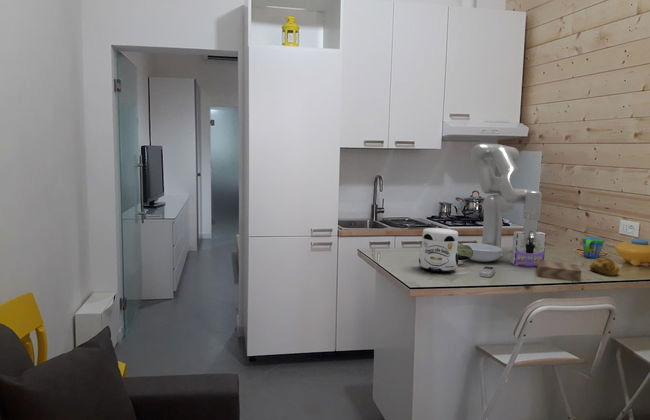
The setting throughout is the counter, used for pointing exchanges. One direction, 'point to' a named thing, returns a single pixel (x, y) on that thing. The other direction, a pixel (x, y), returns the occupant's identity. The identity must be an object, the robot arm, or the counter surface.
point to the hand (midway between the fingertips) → (528, 251)
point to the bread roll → (604, 266)
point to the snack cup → (592, 246)
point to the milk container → (439, 250)
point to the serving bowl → (484, 252)
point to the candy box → (520, 249)
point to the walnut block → (558, 270)
